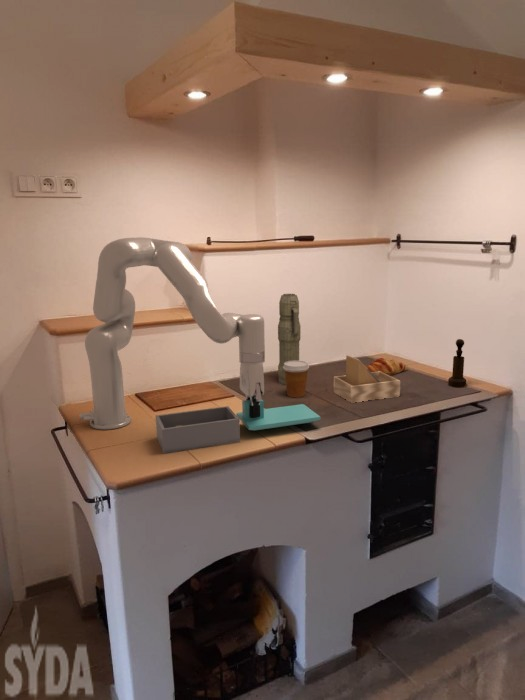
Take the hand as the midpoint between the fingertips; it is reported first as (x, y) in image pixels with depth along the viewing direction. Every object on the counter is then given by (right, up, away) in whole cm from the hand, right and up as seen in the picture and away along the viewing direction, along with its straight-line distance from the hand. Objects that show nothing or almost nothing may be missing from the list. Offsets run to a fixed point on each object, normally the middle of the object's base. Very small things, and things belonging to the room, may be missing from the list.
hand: (253, 415), depth 160 cm
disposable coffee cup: (+15, +3, +34) cm, 37 cm away
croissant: (+54, +10, +61) cm, 82 cm away
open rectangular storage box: (+41, +3, +34) cm, 53 cm away
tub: (-16, -7, -5) cm, 18 cm away
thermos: (+14, +7, +50) cm, 52 cm away
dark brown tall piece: (+78, +6, +43) cm, 89 cm away
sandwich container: (+42, +3, +34) cm, 54 cm away
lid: (+8, -2, +3) cm, 9 cm away
